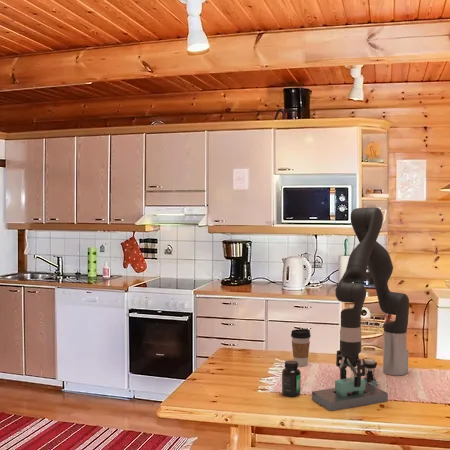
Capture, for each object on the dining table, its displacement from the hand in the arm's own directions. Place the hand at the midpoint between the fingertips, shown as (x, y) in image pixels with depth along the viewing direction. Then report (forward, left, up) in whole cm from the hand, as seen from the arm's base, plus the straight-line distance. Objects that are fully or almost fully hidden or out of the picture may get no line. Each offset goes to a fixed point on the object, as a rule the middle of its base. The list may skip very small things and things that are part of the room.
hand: (350, 383), depth 209 cm
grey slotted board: (0, 0, -6) cm, 6 cm away
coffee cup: (-6, -45, -6) cm, 46 cm away
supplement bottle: (+16, -14, -7) cm, 22 cm away
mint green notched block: (0, 0, -6) cm, 6 cm away
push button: (-17, -10, -7) cm, 21 cm away
